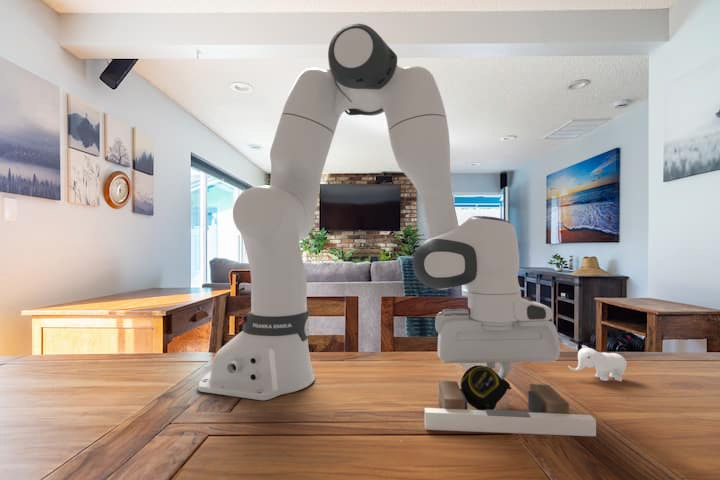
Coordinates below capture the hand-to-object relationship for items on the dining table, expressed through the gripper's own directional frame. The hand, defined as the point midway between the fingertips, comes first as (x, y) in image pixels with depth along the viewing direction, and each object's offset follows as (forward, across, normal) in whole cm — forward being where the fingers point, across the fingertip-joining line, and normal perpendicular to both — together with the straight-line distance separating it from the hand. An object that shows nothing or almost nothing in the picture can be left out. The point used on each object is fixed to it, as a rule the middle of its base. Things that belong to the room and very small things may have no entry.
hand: (497, 386), depth 63 cm
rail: (+3, -2, -5) cm, 6 cm away
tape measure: (+3, -3, -3) cm, 5 cm away
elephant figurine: (+4, +24, +13) cm, 27 cm away
